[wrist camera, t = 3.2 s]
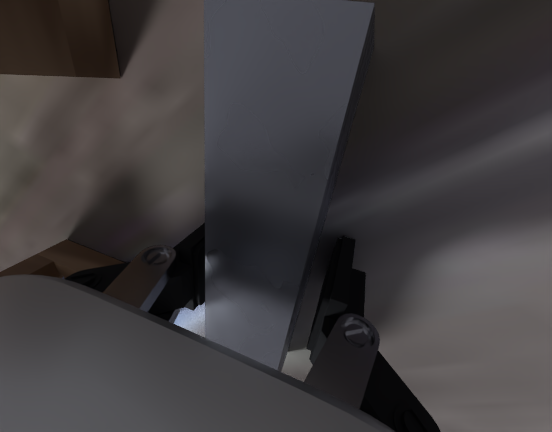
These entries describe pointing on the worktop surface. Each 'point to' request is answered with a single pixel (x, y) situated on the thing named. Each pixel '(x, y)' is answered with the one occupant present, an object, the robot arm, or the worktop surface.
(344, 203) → the worktop surface
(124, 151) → the worktop surface
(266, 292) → the rail
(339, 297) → the robot arm
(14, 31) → the posts
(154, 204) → the worktop surface
